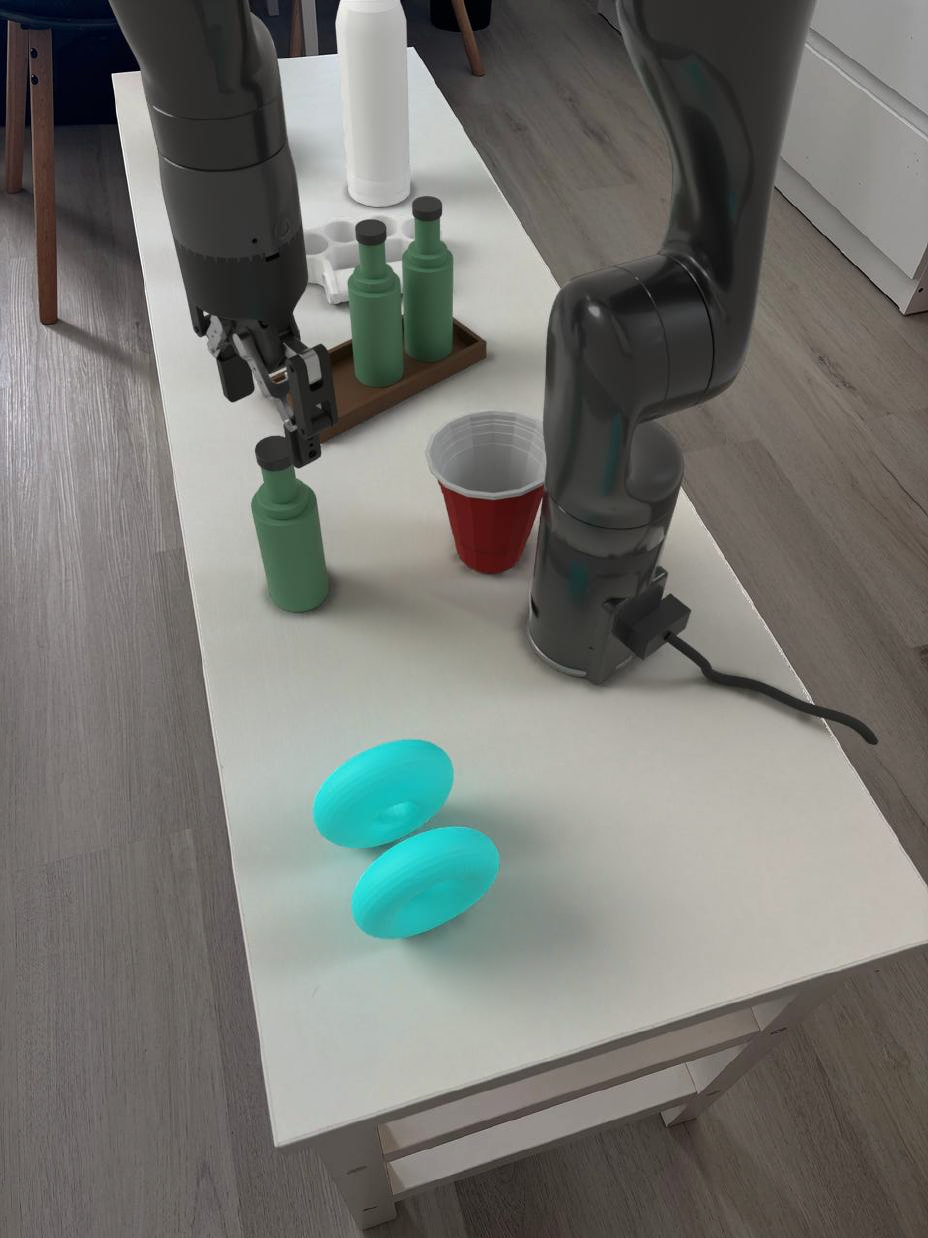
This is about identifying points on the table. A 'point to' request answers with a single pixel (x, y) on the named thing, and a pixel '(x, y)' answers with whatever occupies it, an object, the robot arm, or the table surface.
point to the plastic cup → (490, 483)
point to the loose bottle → (288, 531)
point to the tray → (368, 401)
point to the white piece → (352, 250)
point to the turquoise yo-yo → (417, 867)
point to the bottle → (374, 100)
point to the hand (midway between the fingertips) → (272, 427)
